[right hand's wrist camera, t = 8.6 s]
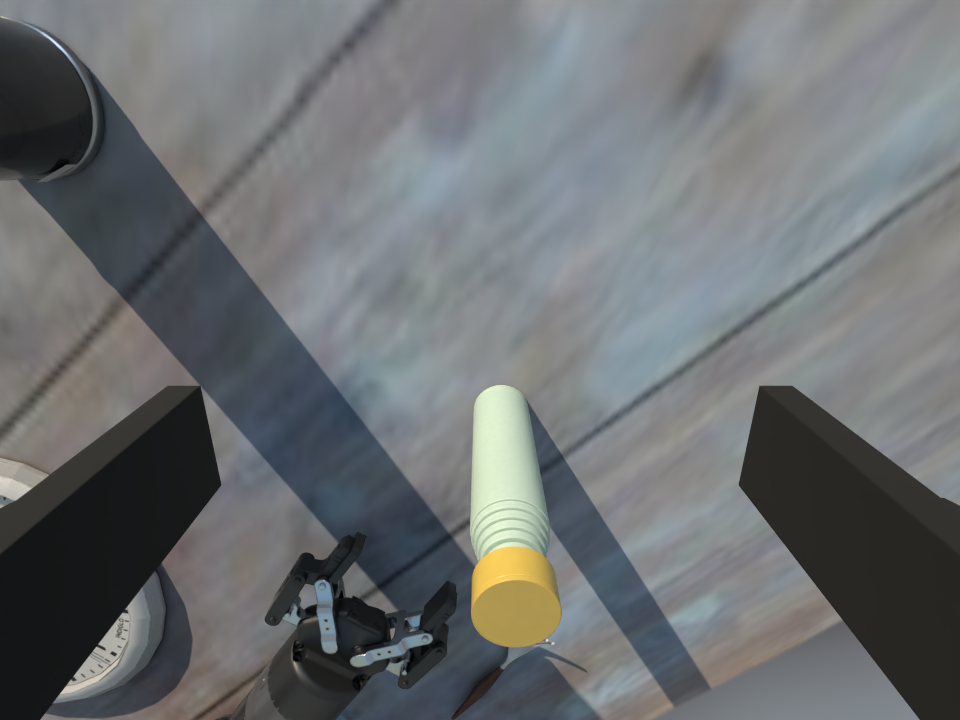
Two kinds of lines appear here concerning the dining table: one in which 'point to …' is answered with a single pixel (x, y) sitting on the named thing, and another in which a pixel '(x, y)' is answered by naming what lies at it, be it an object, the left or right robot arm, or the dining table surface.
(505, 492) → the bottle
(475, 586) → the cap
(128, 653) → the wall clock
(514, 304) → the dining table surface
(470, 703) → the fork
